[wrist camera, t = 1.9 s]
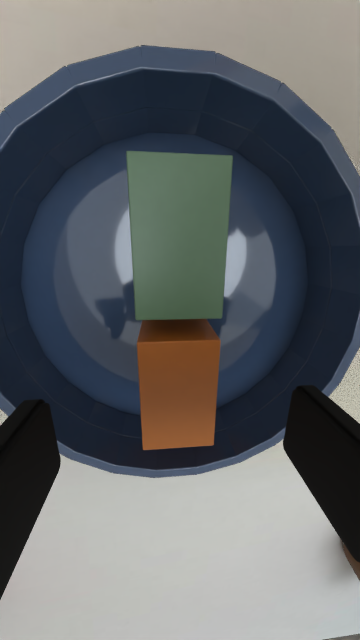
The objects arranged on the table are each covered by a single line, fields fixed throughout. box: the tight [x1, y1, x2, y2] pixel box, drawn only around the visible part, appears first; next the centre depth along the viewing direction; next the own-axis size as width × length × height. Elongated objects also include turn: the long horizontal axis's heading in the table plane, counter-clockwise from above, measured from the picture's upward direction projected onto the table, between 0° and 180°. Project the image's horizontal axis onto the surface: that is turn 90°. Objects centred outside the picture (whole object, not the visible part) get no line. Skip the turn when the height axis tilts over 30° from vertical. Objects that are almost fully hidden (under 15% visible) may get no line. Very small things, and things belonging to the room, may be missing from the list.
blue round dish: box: [0, 45, 360, 478], centre depth 12 cm, size 18×18×4 cm
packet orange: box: [137, 319, 221, 450], centre depth 12 cm, size 6×3×5 cm, turn 0°
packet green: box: [126, 151, 233, 320], centre depth 10 cm, size 6×3×5 cm, turn 0°
